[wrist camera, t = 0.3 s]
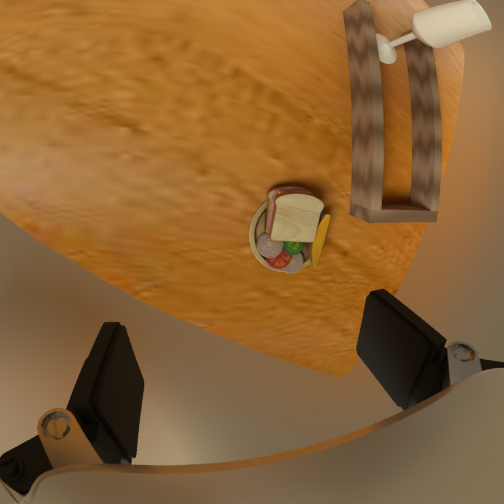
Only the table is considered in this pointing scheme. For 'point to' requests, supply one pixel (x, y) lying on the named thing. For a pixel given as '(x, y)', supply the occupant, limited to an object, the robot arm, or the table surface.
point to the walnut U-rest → (372, 125)
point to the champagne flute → (439, 27)
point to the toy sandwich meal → (289, 229)
